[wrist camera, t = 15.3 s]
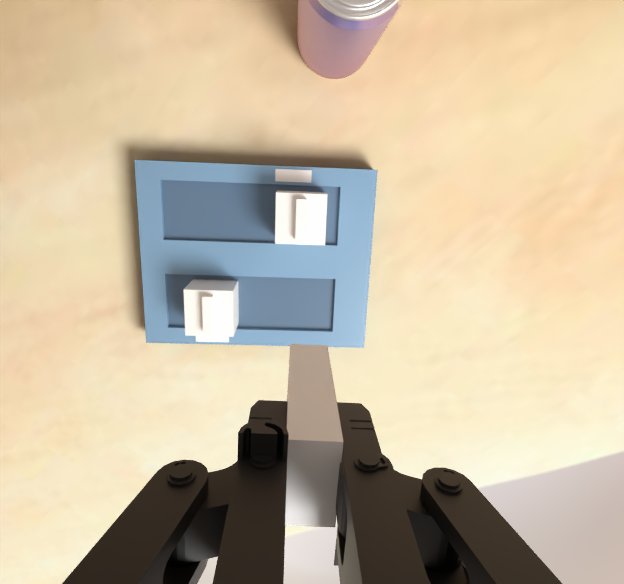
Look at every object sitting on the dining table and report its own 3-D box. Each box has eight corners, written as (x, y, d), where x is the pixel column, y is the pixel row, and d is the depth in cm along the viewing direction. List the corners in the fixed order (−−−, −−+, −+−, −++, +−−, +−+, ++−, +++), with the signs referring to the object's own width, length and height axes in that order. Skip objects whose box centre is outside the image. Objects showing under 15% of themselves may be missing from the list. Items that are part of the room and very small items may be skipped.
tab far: (194, 321, 40) (183, 338, 36) (193, 279, 39) (181, 291, 35) (238, 322, 40) (232, 339, 36) (238, 280, 39) (231, 292, 35)
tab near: (276, 237, 38) (274, 245, 35) (277, 190, 37) (275, 192, 33) (322, 238, 39) (325, 246, 35) (324, 192, 38) (328, 194, 34)
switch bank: (153, 334, 42) (146, 342, 40) (142, 160, 38) (133, 159, 36) (360, 339, 43) (364, 348, 41) (373, 169, 39) (377, 169, 37)
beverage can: (336, 96, 37) (362, 50, 23) (282, 44, 36) (273, -40, 21) (385, 37, 36) (445, -52, 22) (331, -19, 35) (356, -153, 20)
